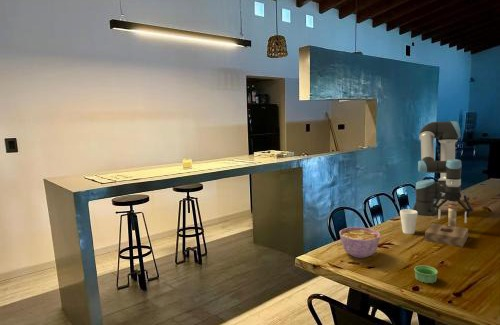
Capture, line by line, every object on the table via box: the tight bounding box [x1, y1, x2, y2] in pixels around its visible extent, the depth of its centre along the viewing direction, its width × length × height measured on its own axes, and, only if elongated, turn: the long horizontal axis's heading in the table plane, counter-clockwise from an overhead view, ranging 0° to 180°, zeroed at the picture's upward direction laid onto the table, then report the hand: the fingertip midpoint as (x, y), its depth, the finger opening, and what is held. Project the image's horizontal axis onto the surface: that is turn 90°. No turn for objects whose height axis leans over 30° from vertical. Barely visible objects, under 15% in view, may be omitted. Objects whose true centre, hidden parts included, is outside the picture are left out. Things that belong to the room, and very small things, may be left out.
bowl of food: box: [339, 226, 381, 259], centre depth 170 cm, size 20×20×12 cm
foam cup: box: [399, 208, 418, 235], centre depth 198 cm, size 10×9×13 cm
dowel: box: [447, 203, 458, 227], centre depth 197 cm, size 4×4×16 cm
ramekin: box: [414, 264, 439, 284], centre depth 142 cm, size 9×9×4 cm
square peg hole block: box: [424, 222, 469, 248], centre depth 186 cm, size 18×18×5 cm
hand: (452, 220), depth 197 cm, fingers open, 13 cm apart
